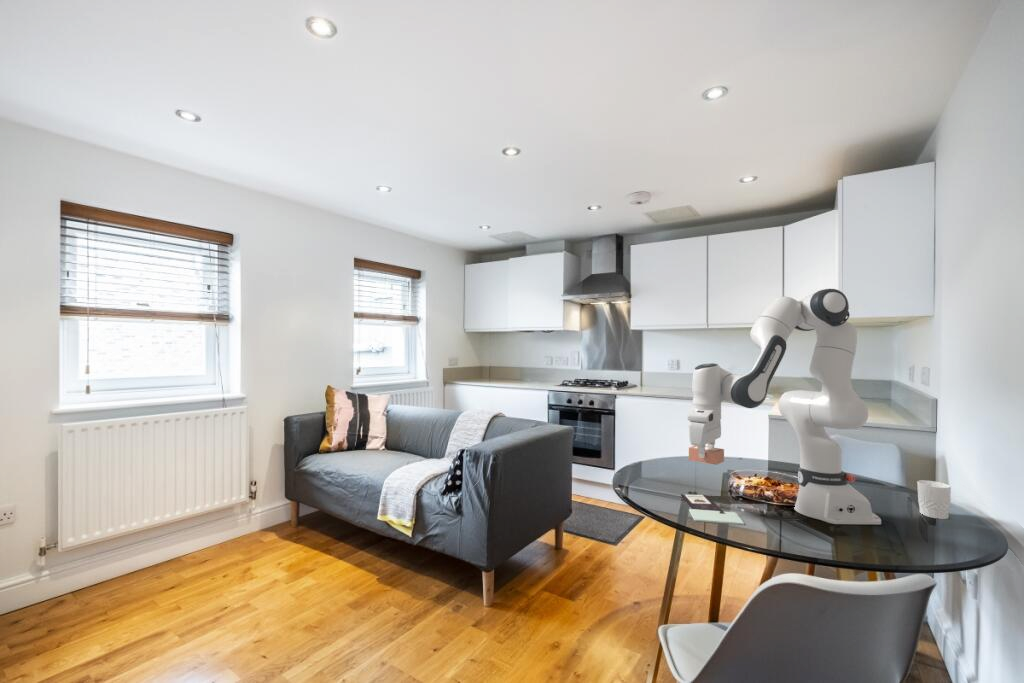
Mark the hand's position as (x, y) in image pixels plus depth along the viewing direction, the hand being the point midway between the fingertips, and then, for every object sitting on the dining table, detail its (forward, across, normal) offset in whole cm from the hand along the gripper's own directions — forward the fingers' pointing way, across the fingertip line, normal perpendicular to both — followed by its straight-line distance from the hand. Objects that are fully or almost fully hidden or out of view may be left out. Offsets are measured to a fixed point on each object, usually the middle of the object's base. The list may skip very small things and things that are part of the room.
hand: (706, 455), depth 149 cm
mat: (+18, +5, +4) cm, 19 cm away
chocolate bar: (+18, -4, -3) cm, 19 cm away
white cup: (+18, -44, +56) cm, 73 cm away
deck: (+2, 0, 0) cm, 2 cm away
